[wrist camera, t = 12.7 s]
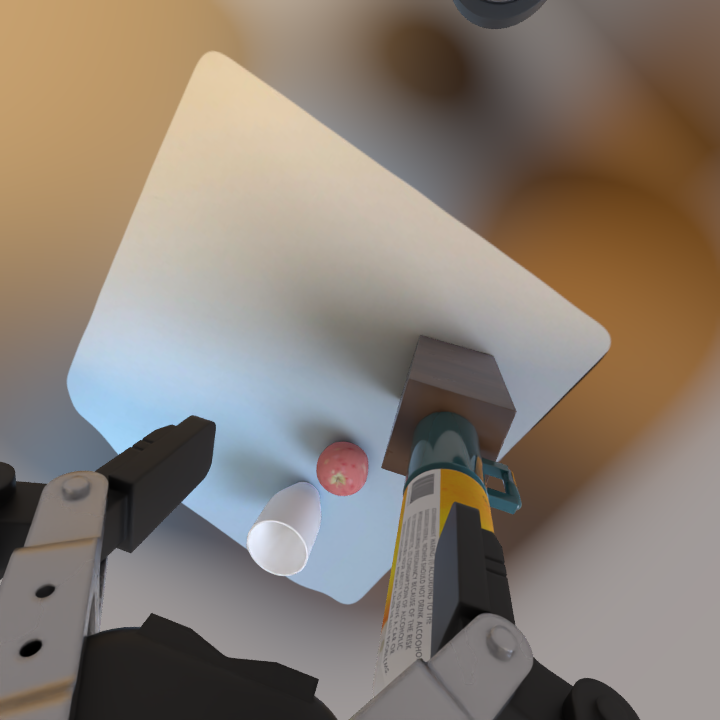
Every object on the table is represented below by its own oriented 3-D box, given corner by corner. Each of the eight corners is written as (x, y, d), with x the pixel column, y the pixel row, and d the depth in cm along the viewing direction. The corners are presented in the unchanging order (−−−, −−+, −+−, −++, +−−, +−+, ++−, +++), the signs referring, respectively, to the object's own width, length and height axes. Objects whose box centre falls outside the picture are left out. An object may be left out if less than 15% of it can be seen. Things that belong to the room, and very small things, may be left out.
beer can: (439, 546, 31) (434, 805, 17) (387, 490, 30) (337, 707, 16) (506, 508, 29) (564, 766, 15) (451, 447, 28) (457, 653, 14)
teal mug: (422, 402, 37) (416, 451, 29) (521, 433, 36) (544, 492, 28) (404, 458, 39) (393, 518, 31) (497, 488, 38) (511, 559, 30)
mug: (311, 463, 63) (282, 512, 52) (342, 507, 64) (320, 564, 53) (256, 490, 67) (218, 541, 56) (286, 531, 68) (254, 590, 57)
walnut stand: (420, 334, 54) (408, 378, 37) (493, 356, 53) (516, 411, 36) (400, 400, 57) (381, 468, 40) (469, 421, 56) (479, 501, 39)
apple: (330, 426, 61) (314, 452, 53) (377, 440, 60) (367, 469, 52) (321, 467, 63) (305, 498, 56) (366, 481, 62) (355, 514, 55)
